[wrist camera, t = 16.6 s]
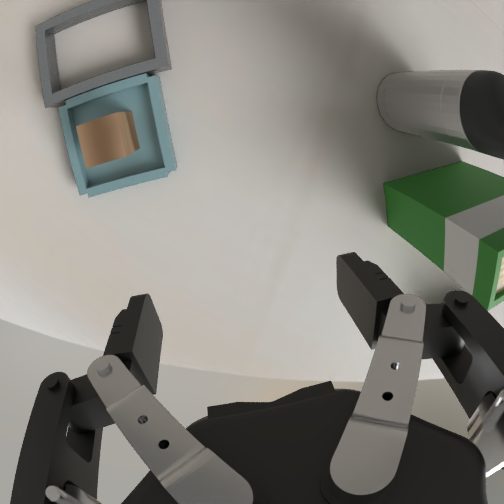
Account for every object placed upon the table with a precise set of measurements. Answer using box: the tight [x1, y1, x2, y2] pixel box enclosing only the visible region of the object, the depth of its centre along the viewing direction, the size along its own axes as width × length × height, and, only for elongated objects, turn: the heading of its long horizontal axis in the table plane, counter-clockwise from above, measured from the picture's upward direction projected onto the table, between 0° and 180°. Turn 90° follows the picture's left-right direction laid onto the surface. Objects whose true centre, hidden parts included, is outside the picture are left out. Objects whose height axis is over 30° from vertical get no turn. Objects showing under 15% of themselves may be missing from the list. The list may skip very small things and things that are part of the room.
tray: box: [59, 73, 177, 197], centre depth 35 cm, size 13×13×2 cm
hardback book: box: [383, 162, 504, 311], centre depth 35 cm, size 18×7×24 cm, turn 106°
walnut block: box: [76, 111, 140, 169], centre depth 32 cm, size 5×5×7 cm
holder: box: [36, 0, 172, 108], centre depth 29 cm, size 17×12×3 cm
